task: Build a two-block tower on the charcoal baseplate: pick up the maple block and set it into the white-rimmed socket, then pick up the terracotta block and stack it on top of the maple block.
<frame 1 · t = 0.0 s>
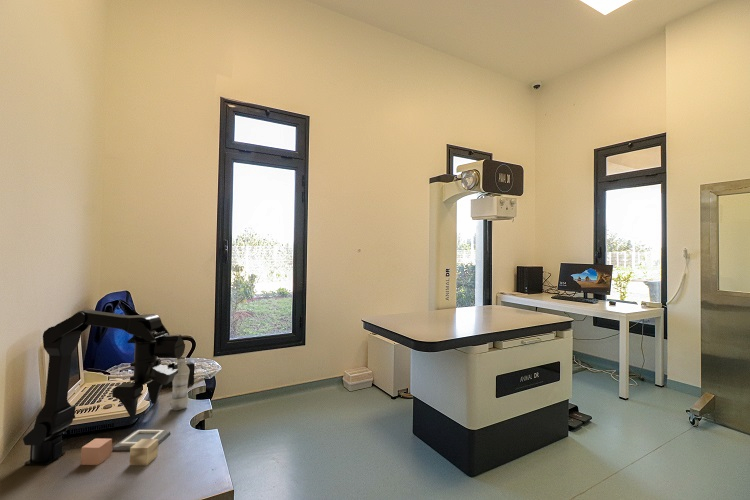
hand: (143, 410, 102), 15 cm above the counter, tool pointing down, fingers open, 9 cm apart
baseplate: (142, 441, 111), on the counter
nameplate: (168, 388, 159), on the counter
maple block: (143, 460, 101), on the counter
plastic bottle: (179, 409, 136), on the counter
terracotta block: (96, 460, 101), on the counter
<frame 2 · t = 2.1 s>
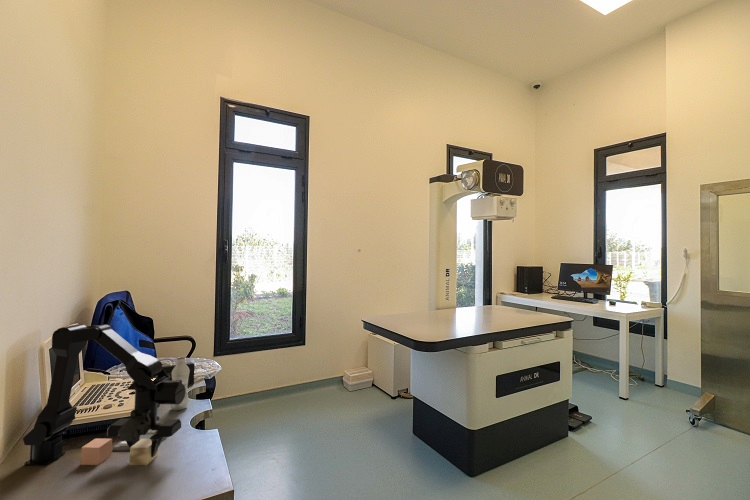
hand: (144, 456, 102), 1 cm above the counter, tool pointing down, fingers closed on maple block, 5 cm apart
maple block: (143, 460, 101), on the counter, touching gripper
everything else where it was.
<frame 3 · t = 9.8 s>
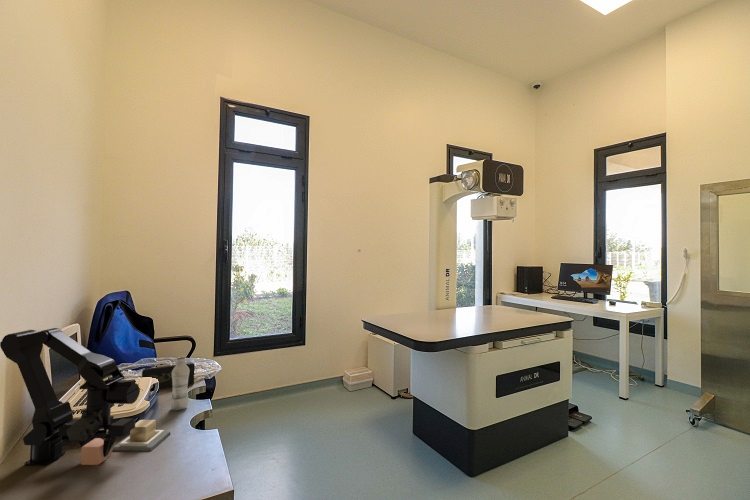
hand: (96, 456, 101), 1 cm above the counter, tool pointing down, fingers closed on terracotta block, 5 cm apart
maple block: (142, 438, 111), point 1 cm above the counter, touching baseplate
terracotta block: (96, 459, 101), on the counter, touching gripper
everything else where it was.
when the fingers open (8 cm above the counter, at t = 13.0 s): terracotta block stays where it is, resting on maple block.
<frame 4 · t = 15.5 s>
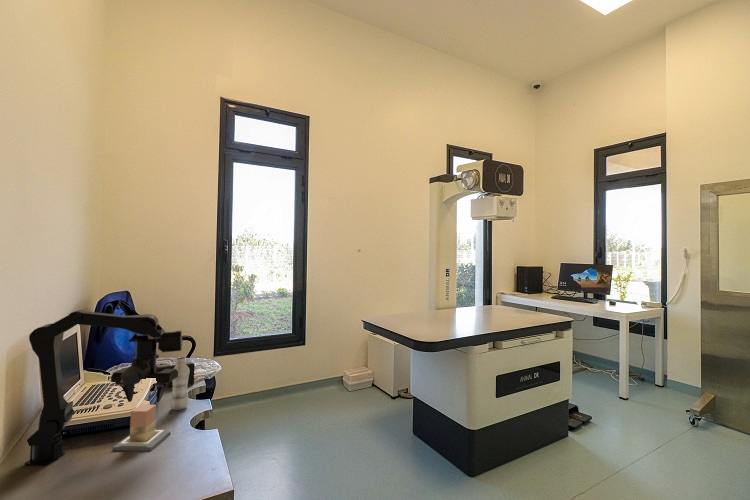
hand: (144, 401, 112), 13 cm above the counter, tool pointing down, fingers open, 9 cm apart
maple block: (142, 438, 111), point 1 cm above the counter, touching baseplate, terracotta block
terracotta block: (143, 423, 112), point 6 cm above the counter, touching maple block
everything else where it was.
at the end: maple block 0.0 cm off-centre on the baseplate, point 1.0 cm above the baseplate's base; terracotta block 0.1 cm off-centre on the maple block, point 5.0 cm above the maple block's base; terracotta block tilted 0° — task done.
